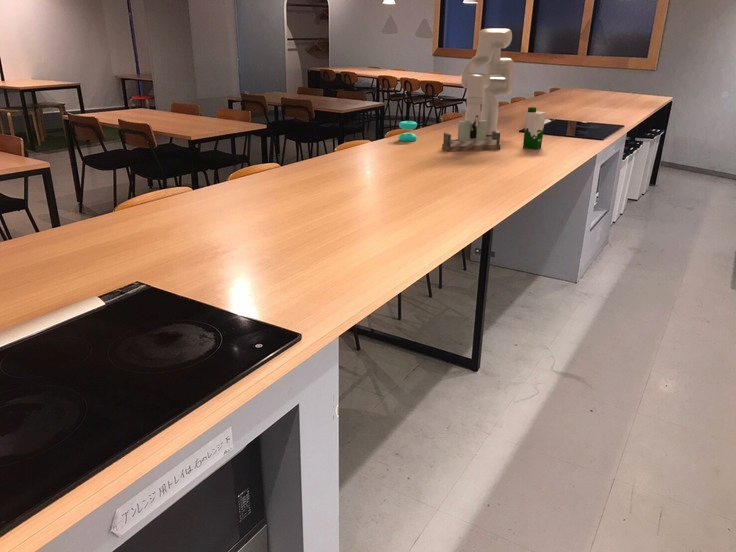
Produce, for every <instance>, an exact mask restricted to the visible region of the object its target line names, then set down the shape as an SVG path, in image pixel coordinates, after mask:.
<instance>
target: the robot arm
mask: <svg viewBox="0 0 736 552" xmlns="http://www.w3.org/2000/svg"><path fill="white" fill-rule="evenodd" d="M478 39H479V40H478V43H477V48H476V53H475V56H473V57H471V58H470V60H468V61H467V63H466V64H465V66H464V67H463V71H462V74H461V81H460V82H461V83H460V84H461V87H462V88H464V89H466V90H467V91H466V107H465V115H464V121H468V122H469V124H470V125H471V131H470V138H471V139H475V138H476V135H477V127H478V126H479V125H478V124H479V123H480V120H486V121H487V128H486V136H492V131H497V132H499V130H497V127H498V116H499V103H500V102H499V100H498V98H497V97H496V96H509V95H511V94H512V92H513V89H514V75H515V74H514V73H515V64H514V60H513V59H512V58H510V57H501V52H502V49H506V48H507V47H509V46H510V45H511V43H512V40H513V33H512V30H511V29H510V28H484V29H483V28H482V29H481V30H480V31H479V32H478ZM482 66H483V67H484V73H483V72H473V71H474V70H475V69H477V68H480V67H482ZM473 123H475V124H473ZM473 125H475V126H473Z"/></svg>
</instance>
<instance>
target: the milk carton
mask: <svg viewBox="0 0 736 552" xmlns="http://www.w3.org/2000/svg"><path fill="white" fill-rule="evenodd" d="M546 114H547V112H545V111H540V110H539V111H537V107H534V106H533V107H532V106H530V107H528V109H527V111H526V112H525V124H524V134H523V143H522V148H523V149H529V150H538V149H541V148H542V144H543V135H544V130H545V128H544V127H545V121H546V116H547V115H546Z"/></svg>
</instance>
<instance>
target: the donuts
mask: <svg viewBox="0 0 736 552" xmlns="http://www.w3.org/2000/svg"><path fill="white" fill-rule="evenodd" d="M398 126H399V128H400V129H403V130H415V129H416V128H417V126H418V123H417V122H416V121H413V120H404V121H400V122H399V123H398ZM417 138H418V137H417V135H416V134H415V133H410V132H404V133H401V134H400V135H399V136H398V140H399V141H401V142H406V141H410V142H414V141H416V140H417Z"/></svg>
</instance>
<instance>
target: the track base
mask: <svg viewBox="0 0 736 552" xmlns="http://www.w3.org/2000/svg"><path fill="white" fill-rule="evenodd" d="M497 131H498V130H496V131H492V135H491V137H486V140H473V141H458V138H453V139H452V135H451V134H450V133H449V132H443V140H442V141H443V143H442V145H441V148H442V149H443V148H444V149H443V150H445V151H447V152H465V151H466V152H467V151H490V150H491V151H492V150H493V151H494V150H501V144H500V143H501V142H500V140H501V132H499V131H498V132H497Z"/></svg>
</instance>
